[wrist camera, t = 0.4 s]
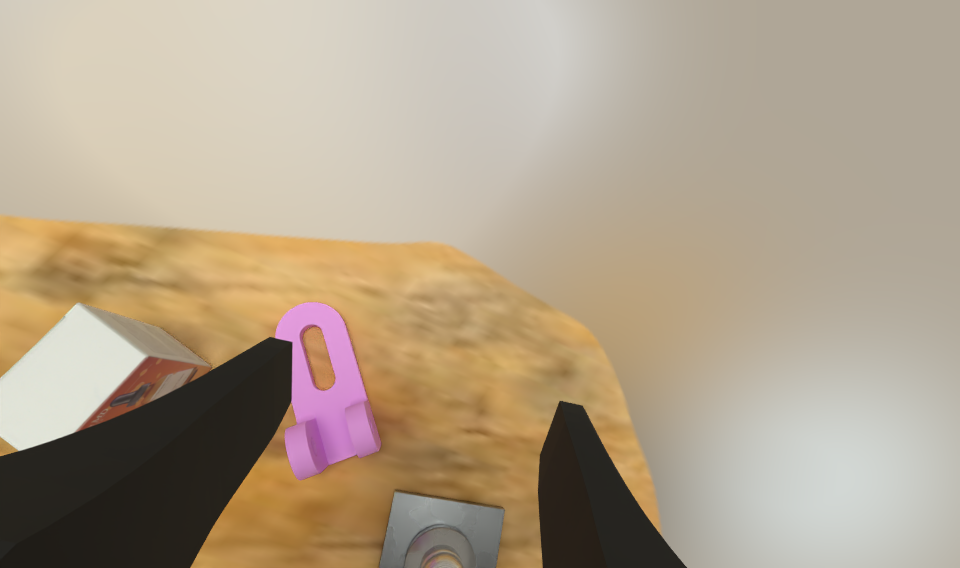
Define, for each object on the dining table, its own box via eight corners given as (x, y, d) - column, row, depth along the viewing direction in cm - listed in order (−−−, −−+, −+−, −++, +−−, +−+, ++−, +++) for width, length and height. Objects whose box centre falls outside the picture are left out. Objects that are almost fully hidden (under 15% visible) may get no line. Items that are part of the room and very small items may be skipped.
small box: (138, 452, 36) (38, 473, 26) (80, 407, 37) (-42, 412, 26) (215, 366, 39) (149, 356, 29) (160, 325, 39) (75, 300, 29)
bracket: (381, 443, 40) (377, 453, 33) (313, 469, 38) (295, 484, 32) (337, 297, 42) (325, 278, 35) (272, 316, 40) (246, 301, 34)
